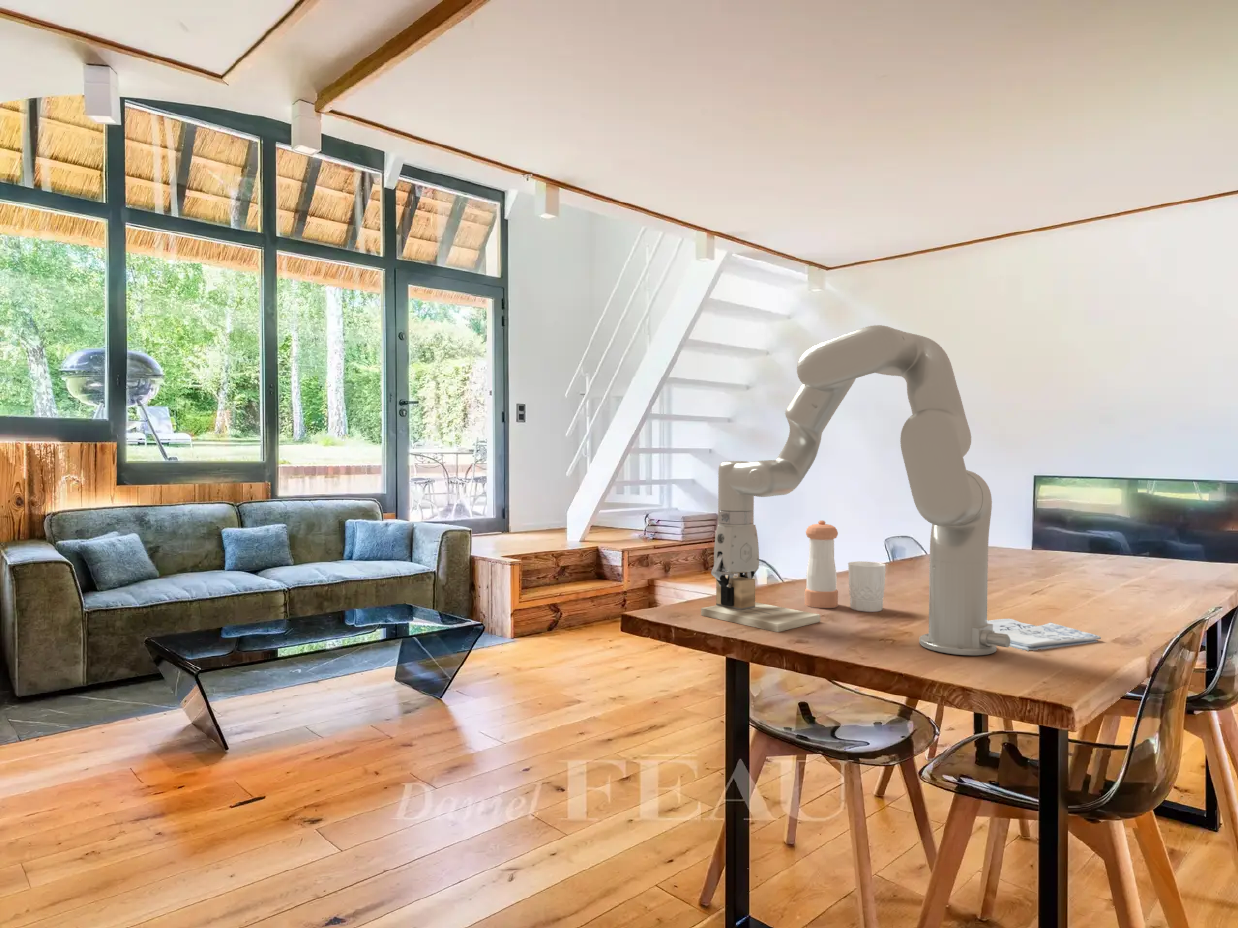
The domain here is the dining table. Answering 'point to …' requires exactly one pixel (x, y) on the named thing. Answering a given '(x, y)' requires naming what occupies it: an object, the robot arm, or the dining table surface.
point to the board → (763, 616)
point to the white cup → (866, 585)
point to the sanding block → (739, 593)
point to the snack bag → (1040, 635)
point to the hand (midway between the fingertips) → (735, 602)
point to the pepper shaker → (821, 567)
